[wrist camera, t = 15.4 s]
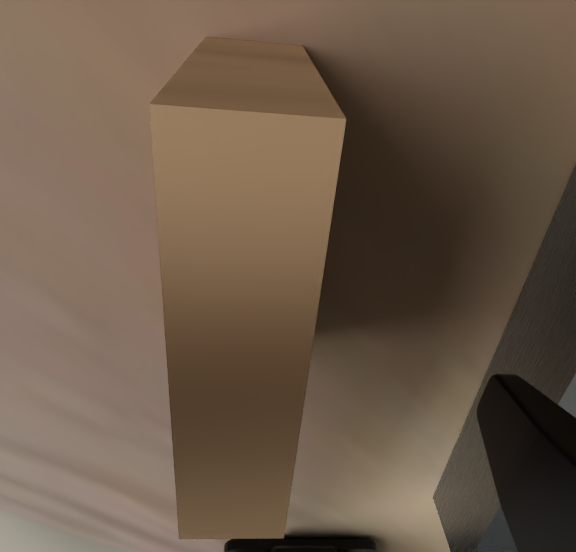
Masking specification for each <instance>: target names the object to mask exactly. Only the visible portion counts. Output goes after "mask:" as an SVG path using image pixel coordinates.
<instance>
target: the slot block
mask: <svg viewBox="0 0 576 552" xmlns="http://www.w3.org/2000/svg"><path fill="white" fill-rule="evenodd" d="M493 374H514V375H518V376H519V377H521V378H522V379H524V380H525V381H527V382H528V383H529V384H531V385H532V386H533V387H535V388H536V389H537V390H539V391H540V392H541V393H543V394H544V395H546V396H547V397H548V398H550V399H551V400H552V401H554V402H555V403H556V404H558V405H559V406H561V407H562V408H563V409H565V410H566V411H567V412H569V413H570V414H571V415H573V416H574V417H576V166H575V169H574V171H573V173H572V175H571V178H570V180H569V182H568V185H567V187H566V189H565V192H564V194H563V196H562V199H561V201H560V203H559V206H558V208H557V210H556V213H555V215H554V217H553V220H552V222H551V224H550V227H549V229H548V231H547V234H546V236H545V238H544V241H543V243H542V245H541V248H540V250H539V252H538V254H537V257H536V259H535V261H534V264H533V266H532V268H531V271H530V273H529V275H528V278H527V280H526V282H525V285H524V287H523V289H522V292H521V294H520V296H519V299H518V301H517V303H516V306H515V308H514V310H513V313H512V315H511V317H510V320H509V322H508V324H507V327H506V329H505V331H504V334H503V336H502V338H501V340H500V343H499V345H498V347H497V350H496V352H495V354H494V357H493V359H492V361H491V364H490V366H489V368H488V371H487V373H486V375H485V378H484V380H483V382H482V385H481V387H480V389H479V392H478V394H477V396H476V399H475V401H474V403H473V406H472V408H471V410H470V413H469V415H468V417H467V420H466V422H465V424H464V426H463V429H462V431H461V433H460V436H459V438H458V440H457V443H456V445H455V447H454V450H453V452H452V454H451V457H450V459H449V461H448V464H447V466H446V468H445V471H444V473H443V475H442V478H441V480H440V482H439V485H438V487H437V489H436V492H435V494H434V496H433V499H434V502H435V505H436V508H437V511H438V514H439V517H440V520H441V523H442V526H443V529H444V532H445V535H446V538H447V541H448V544H449V548H450V551H451V552H518V551H517V548H516V545H515V543H514V540H513V537H512V535H511V532H510V529H509V527H508V524H507V521H506V519H505V516H504V513H503V510H502V508H501V505H500V502H499V499H498V495H497V492H496V488H495V485H494V481H493V477H492V473H491V469H490V466H489V462H488V458H487V454H486V451H485V447H484V443H483V439H482V435H481V432H480V428H479V424H478V420H477V406H478V403H479V401H480V398H481V396H482V394H483V392H484V389H485V387H486V385H487V382H488V380H489V378H490V377H491V376H492V375H493Z"/></svg>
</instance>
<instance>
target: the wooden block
mask: <svg viewBox="0 0 576 552" xmlns="http://www.w3.org/2000/svg"><path fill="white" fill-rule="evenodd" d="M149 107H150V121H151V136H152V150H153V165H154V180H155V194H156V209H157V223H158V238H159V252H160V267H161V282H162V296H163V311H164V325H165V340H166V354H167V369H168V383H169V398H170V413H171V427H172V442H173V456H174V471H175V485H176V500H177V515H178V529H179V539H267V538H284V533H285V526H286V520H287V513H288V506H289V500H290V493H291V486H292V480H293V473H294V466H295V459H296V453H297V446H298V439H299V433H300V426H301V419H302V413H303V406H304V399H305V393H306V386H307V379H308V373H309V366H310V359H311V353H312V346H313V339H314V332H315V326H316V319H317V312H318V306H319V299H320V292H321V286H322V279H323V272H324V266H325V259H326V252H327V246H328V239H329V232H330V225H331V219H332V212H333V205H334V199H335V192H336V185H337V179H338V172H339V165H340V159H341V152H342V145H343V139H344V132H345V125H346V117H345V116H344V114H343V112H342V111H341V109H340V107H339V106H338V104H337V102H336V101H335V99H334V97H333V96H332V94H331V92H330V91H329V89H328V87H327V86H326V84H325V82H324V81H323V79H322V77H321V76H320V74H319V72H318V71H317V69H316V67H315V66H314V64H313V62H312V61H311V59H310V57H309V56H308V54H307V52H306V51H305V49H304V48H303V46H302V45H291V44H280V43H269V42H258V41H247V40H236V39H225V38H213V37H205V38H204V40H203V41H202V42H201V43H200V44H199V46H198V47H197V48H196V49H195V50H194V52H193V53H192V54H191V55H190V56H189V57H188V59H187V60H186V61H185V62H184V63H183V65H182V66H181V67H180V68H179V69H178V71H177V72H176V73H175V74H174V75H173V76H172V78H171V79H170V80H169V81H168V82H167V84H166V85H165V86H164V87H163V88H162V90H161V91H160V92H159V93H158V94H157V95H156V97H155V98H154V99H153V100H152V101H151V103H150V104H149Z"/></svg>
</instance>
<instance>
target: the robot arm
mask: <svg viewBox="0 0 576 552" xmlns="http://www.w3.org/2000/svg"><path fill="white" fill-rule="evenodd" d="M477 420H478V424H479V428H480V432H481V435H482V439H483V443H484V447H485V451H486V454H487V458H488V462H489V466H490V469H491V473H492V477H493V481H494V485H495V488H496V492H497V495H498V499H499V502H500V505H501V508H502V510H503V513H504V516H505V519H506V521H507V524H508V527H509V529H510V532H511V535H512V537H513V540H514V543H515V545H516V548H517V551H518V552H576V417H574V416H573V415H571V414H570V413H569V412H567V411H566V410H565V409H563V408H562V407H561V406H559V405H558V404H556V403H555V402H554V401H552V400H551V399H550V398H548V397H547V396H546V395H544V394H543V393H541V392H540V391H539V390H537V389H536V388H535V387H533V386H532V385H531V384H529V383H528V382H527V381H525V380H524V379H522V378H521V377H519V376H518V375H514V374H493V375H492V376H491V377H490V378H489V380H488V382H487V385H486V387H485V389H484V392H483V394H482V396H481V398H480V401H479V403H478V406H477ZM224 552H378V551H377V546H376V543H375V542H374V541H372V540H367V539H236V540H230V541H228V542H227V543H225V546H224Z"/></svg>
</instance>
